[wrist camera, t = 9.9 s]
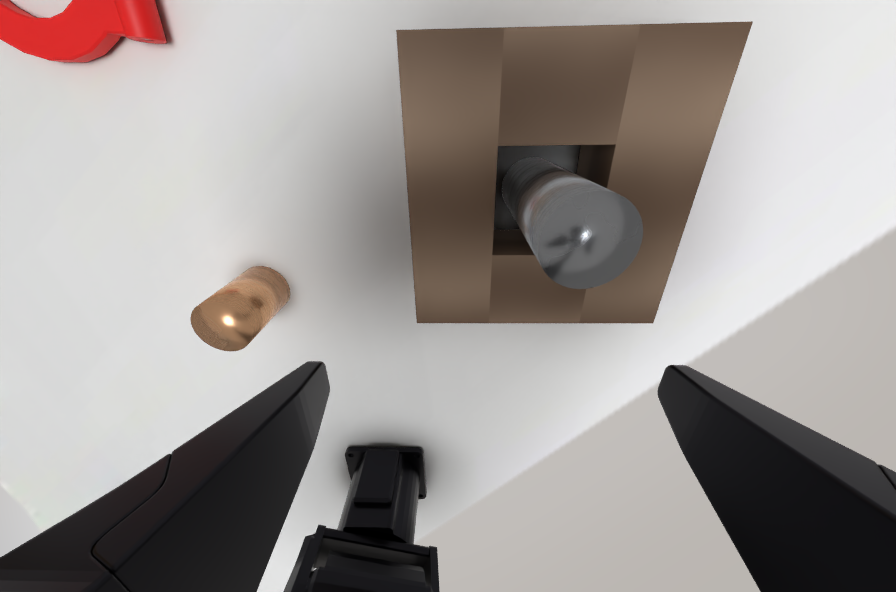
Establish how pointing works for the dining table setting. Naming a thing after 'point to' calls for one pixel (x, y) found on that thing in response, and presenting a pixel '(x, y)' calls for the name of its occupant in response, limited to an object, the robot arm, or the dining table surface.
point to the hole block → (554, 123)
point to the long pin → (572, 223)
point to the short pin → (240, 309)
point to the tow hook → (81, 28)
